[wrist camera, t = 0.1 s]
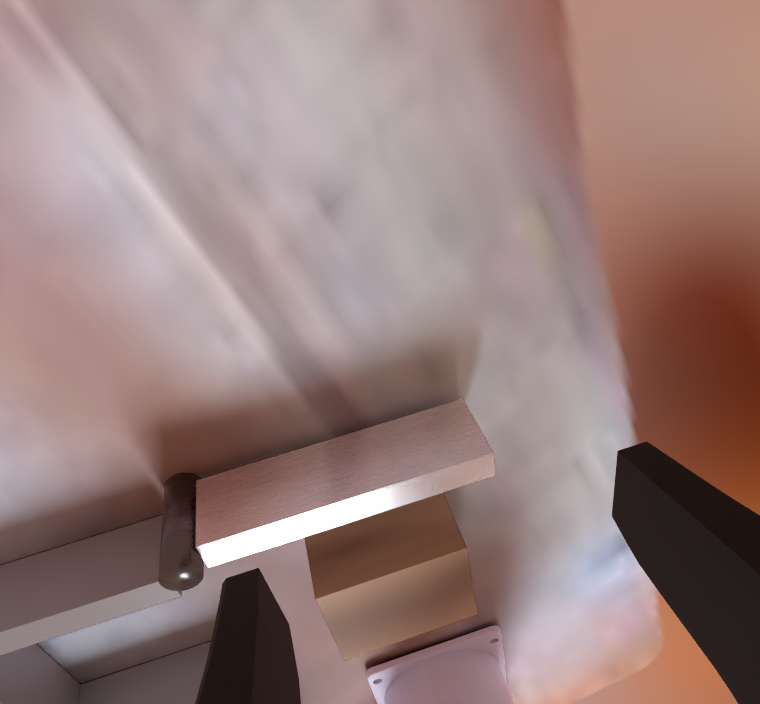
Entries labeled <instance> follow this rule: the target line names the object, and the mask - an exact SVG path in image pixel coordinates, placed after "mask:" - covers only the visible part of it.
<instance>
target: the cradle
mask: <svg viewBox="0 0 760 704" xmlns="http://www.w3.org/2000/svg"><path fill="white" fill-rule="evenodd" d="M162 517H163V515H160V516H157V517H154V518H151V519H148V520H144V521H141V522H138V523H135V524H132V525H128V526H125V527H122V528H119V529H116V530H112V531H109V532H106V533H103V534H99V535H96V536H93V537H90V538H87V539H83V540H80V541H77V542H74V543H71V544H67V545H64V546H61V547H58V548H55V549H51V550H48V551H45V552H42V553H39V554H35V555H32V556H29V557H26V558H22V559H19V560H16V561H13V562H10V563H6V564H3V565H0V704H195V702H196V699H197V695H198V691H199V687H200V684H201V680H202V676H203V673H204V669H205V665H206V661H207V657H208V653H209V648H210V644H211V641H210V642H207V643H204V644H201V645H198V646H195V647H192V648H189V649H186V650H183V651H180V652H177V653H174V654H171V655H168V656H165V657H162V658H159V659H156V660H153V661H150V662H147V663H144V664H141V665H138V666H135V667H132V668H129V669H126V670H123V671H120V672H117V673H114V674H111V675H108V676H105V677H102V678H99V679H96V680H93V681H90V682H87V683H84V684H81V685H80V684H79V683H78V682H77V681H76V680H75V679H74V678H73V677H72V676H71V675H69V674H68V673H67V672H66V671H65V670H64V669H63V668H62V667H61V666H60V665H59V664H58V663H56V662H55V661H54V660H53V659H52V658H51V657H50V656H49V655H48V654H47V653H46V652H44V651H43V650H42V649H41V648H40V647H39V646H38V645H37V643H40V642H43V641H46V640H49V639H52V638H55V637H58V636H62V635H65V634H68V633H71V632H74V631H77V630H80V629H83V628H86V627H89V626H92V625H95V624H99V623H102V622H105V621H108V620H111V619H114V618H117V617H120V616H123V615H126V614H129V613H132V612H136V611H139V610H142V609H145V608H148V607H151V606H154V605H157V604H160V603H163V602H166V601H169V600H172V599H176V598H179V597H181V596H182V591H172V590H168V589H165V588H164V587H162V586H161V585H160V584H159V581H158V574H159V560H160V546H161V531H162Z"/></svg>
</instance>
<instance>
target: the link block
mask: <svg viewBox="0 0 760 704" xmlns="http://www.w3.org/2000/svg"><path fill="white" fill-rule="evenodd" d="M305 543H306V548H307V554H308V560H309V566H310V571H311V577H312V583H313V588H314V594H315V599H316V601H317V604H318V606H319V608H320V610H321V612H322V614H323V616H324V618H325V621H326V623H327V625H328V627H329V629H330V631H331V633H332V635H333V638H334V640H335V642H336V644H337V646H338V648H339V650H340V652H341V655H342V657H343V659H344V661H346V660H349V659H352V658H355V657H357V656H360V655H363V654H366V653H369V652H372V651H375V650H377V649H380V648H383V647H386V646H389V645H392V644H395V643H397V642H400V641H403V640H406V639H409V638H412V637H415V636H417V635H420V634H423V633H426V632H429V631H432V630H435V629H437V628H440V627H443V626H446V625H449V624H452V623H455V622H457V621H460V620H463V619H466V618H469V617H472V616H475V615H477V608H476V602H475V596H474V589H473V583H472V577H471V571H470V564H469V558H468V552H467V547H466V545H465V542H464V540H463V538H462V536H461V533H460V531H459V529H458V526H457V524H456V522H455V520H454V517H453V515H452V513H451V510H450V508H449V506H448V503H447V501H446V499H445V497H444V494H443V493H440V494H437V495H434V496H431V497H428V498H425V499H422V500H418V501H415V502H412V503H409V504H406V505H403V506H400V507H397V508H394V509H390V510H387V511H384V512H381V513H378V514H375V515H372V516H369V517H366V518H362V519H359V520H356V521H353V522H350V523H347V524H344V525H341V526H338V527H334V528H331V529H328V530H325V531H322V532H319V533H316V534H313V535H310V536H306V537H305Z"/></svg>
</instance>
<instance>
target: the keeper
mask: <svg viewBox="0 0 760 704" xmlns="http://www.w3.org/2000/svg"><path fill="white" fill-rule="evenodd" d="M493 476H496V474H495V463H494V453H493V451H492V449H491V447H490V446H489V444H488V442H487V440H486V438H485V437H484V435H483V433H482V431H481V430H480V428H479V426H478V424H477V422H476V421H475V419H474V417H473V415H472V414H471V412H470V410H469V408H468V406H467V405H466V403H465V401H464V399H459V400H456V401H453V402H450V403H447V404H443V405H440V406H437V407H434V408H430V409H427V410H424V411H421V412H417V413H414V414H411V415H408V416H404V417H401V418H398V419H395V420H391V421H388V422H385V423H382V424H378V425H375V426H372V427H369V428H365V429H362V430H359V431H356V432H352V433H349V434H346V435H343V436H339V437H336V438H333V439H330V440H326V441H323V442H320V443H317V444H313V445H310V446H307V447H304V448H300V449H297V450H294V451H291V452H287V453H284V454H281V455H278V456H274V457H271V458H268V459H265V460H261V461H258V462H255V463H252V464H248V465H245V466H242V467H239V468H235V469H232V470H229V471H226V472H222V473H219V474H216V475H213V476H209V477H206V478H203V479H200V478H199V477H197V476H196V475H193V474H187V473H184V474H178V475H175V476H173V477H171V478H170V479H168V480H167V482H166V483H165V488H164V502H163V517H162V531H161V546H160V560H159V574H158V581H159V584H160V585H161V586H162V587H164V588H165V589H168V590H172V591H183V590H187V589H191V588H193V587H195V586H197V585H198V584H199V583H200V582H201V581H202V579H203V560H204V562H205V563H206V565H207V566H208V568H210V567H213V566H216V565H219V564H222V563H226V562H229V561H232V560H235V559H238V558H241V557H244V556H247V555H250V554H254V553H257V552H260V551H263V550H266V549H269V548H272V547H275V546H278V545H282V544H285V543H288V542H291V541H294V540H297V539H300V538H303V537H306V536H310V535H313V534H316V533H319V532H322V531H325V530H328V529H331V528H334V527H338V526H341V525H344V524H347V523H350V522H353V521H356V520H359V519H362V518H366V517H369V516H372V515H375V514H378V513H381V512H384V511H387V510H390V509H394V508H397V507H400V506H403V505H406V504H409V503H412V502H415V501H418V500H422V499H425V498H428V497H431V496H434V495H437V494H440V493H443V492H446V491H449V490H453V489H456V488H459V487H462V486H465V485H468V484H471V483H474V482H477V481H481V480H484V479H487V478H490V477H493Z"/></svg>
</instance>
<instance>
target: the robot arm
mask: <svg viewBox="0 0 760 704" xmlns="http://www.w3.org/2000/svg"><path fill="white" fill-rule="evenodd" d="M612 517H613V519H614V521H615V522H616V524H617V526H618V528H619V530H620V531H621V533H622V535H623V537H624V539H625V540H626V542H627V544H628V546H629V547H630V549H631V551H632V553H633V554H634V556H635V558H636V559H637V561H638V563H639V564H640V566H641V567H642V569H643V570H644V571H645V573H646V574H647V576H648V577H649V578H650V580H651V581H652V583H653V584H654V585H655V587H656V588H657V589H658V591H659V592H660V594H661V595H662V596H663V598H664V599H665V600H666V602H667V603H668V605H669V606H670V607H671V609H672V610H673V611H674V613H675V614H676V615H677V617H678V618H679V620H680V621H681V622H682V624H683V625H684V626H685V628H686V629H687V631H688V632H689V633H690V635H691V636H692V637H693V639H694V640H695V641H696V643H697V644H698V646H699V647H700V648H701V650H702V651H703V652H704V654H705V655H706V656H707V657H708V659H709V661H710V662H711V663H712V665H713V666H714V667H715V669H716V670H717V672H718V673H719V675H720V676H721V678H722V679H723V681H724V682H725V684H726V685H727V687H728V688H729V690H730V691H731V693H732V694H733V696H734V697H735V699H736V701H737V702H738V704H760V515H758V514H756V513H755V512H753V511H752V510H750V509H748V508H747V507H745V506H744V505H742V504H740V503H739V502H737V501H735V500H734V499H732V498H731V497H729V496H728V495H726V494H725V493H723V492H722V491H720V490H719V489H717V488H716V487H714V486H712V485H711V484H709V483H708V482H706V481H705V480H703V479H702V478H700V477H699V476H697V475H696V474H694V473H693V472H691V471H690V470H688V469H687V468H685V467H684V466H682V465H681V464H679V463H678V462H677V461H675V460H674V459H672V458H671V457H669V456H667V455H666V454H664V453H663V452H662V451H660V450H659V449H657V448H656V447H654V446H653V445H651V444H650V443H648V442H644V443H641V444H638V445H635V446H632V447H629V448H626V449H622V450H619V451H618V454H617V465H616V476H615V487H614V499H613V510H612ZM366 676H367V680H368V683H369V685H370V687H371V690H372V692H373V694H374V697H375V699H376V701H377V704H515V703H514V700H513V698H512V695H511V693H510V690H509V688H508V685H507V678H506V669H505V659H504V650H503V641H502V633H501V630H500V628H499V627H498V626H490V627H487V628H484V629H481V630H478V631H475V632H472V633H469V634H466V635H463V636H461V637H458V638H455V639H452V640H449V641H446V642H443V643H440V644H437V645H434V646H432V647H429V648H426V649H423V650H420V651H417V652H414V653H411V654H408V655H405V656H403V657H400V658H397V659H394V660H391V661H388V662H385V663H382V664H379V665H376V666H374V667H371V668H369V669H368V670H367V672H366ZM195 704H301V700H300V688H299V678H298V672H297V666H296V661H295V655H294V649H293V644H292V638H291V633H290V628H289V623H288V622H287V620H286V618H285V616H284V614H283V612H282V610H281V609H280V607H279V605H278V603H277V601H276V599H275V597H274V596H273V594H272V592H271V590H270V588H269V586H268V584H267V583H266V581H265V579H264V577H263V575H262V573H261V571H260V570H259V568H257V569H254V570H251V571H247V572H244V573H241V574H238V575H235V576H232V577H229V578H226V580H225V581H224V582H223V584H222V590H221V596H220V602H219V607H218V612H217V617H216V622H215V627H214V631H213V636H212V640H211V644H210V648H209V653H208V657H207V661H206V665H205V669H204V673H203V676H202V680H201V684H200V687H199V691H198V695H197V699H196V702H195Z"/></svg>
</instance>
